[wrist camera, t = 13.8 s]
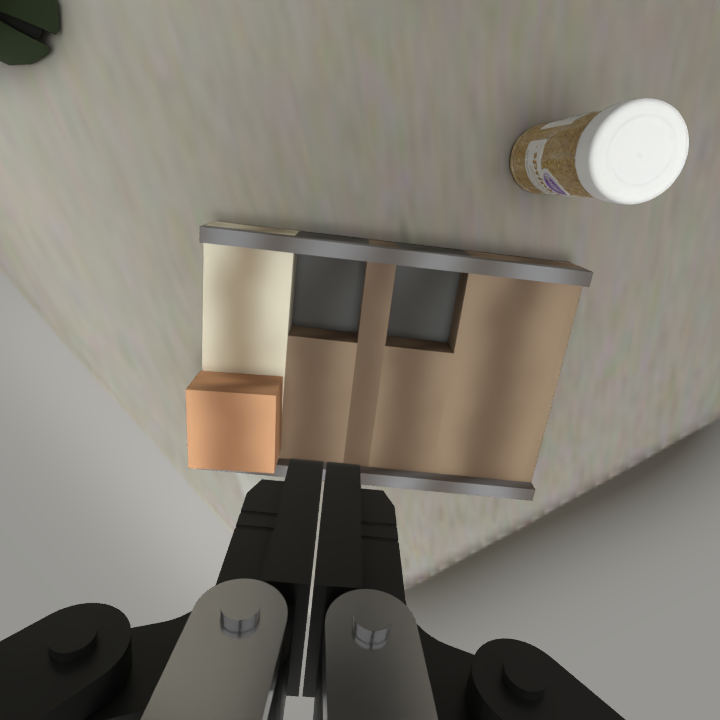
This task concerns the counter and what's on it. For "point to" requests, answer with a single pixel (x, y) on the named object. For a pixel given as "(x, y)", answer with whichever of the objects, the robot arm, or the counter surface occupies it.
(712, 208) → the counter surface
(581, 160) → the sprinkles bottle
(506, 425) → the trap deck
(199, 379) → the terracotta block
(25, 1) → the character mug
